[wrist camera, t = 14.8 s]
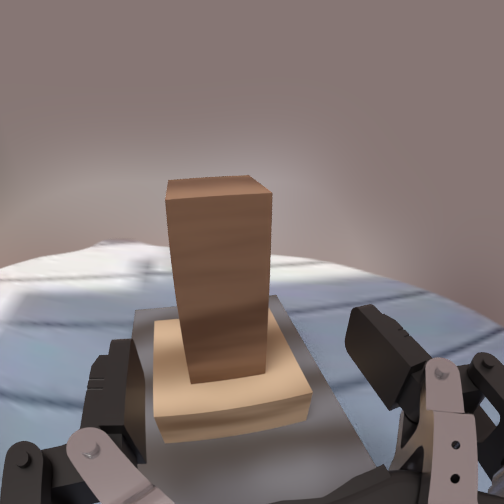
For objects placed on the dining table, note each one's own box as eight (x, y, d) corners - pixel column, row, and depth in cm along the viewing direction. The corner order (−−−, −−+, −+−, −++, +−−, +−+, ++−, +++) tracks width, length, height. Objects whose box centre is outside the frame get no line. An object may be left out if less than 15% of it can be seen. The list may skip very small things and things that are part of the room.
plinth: (381, 484, 14) (404, 459, 12) (129, 534, 10) (104, 519, 9) (275, 299, 35) (277, 268, 33) (136, 314, 31) (129, 283, 30)
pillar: (265, 373, 19) (272, 193, 14) (190, 384, 18) (165, 199, 13) (248, 329, 24) (248, 175, 19) (185, 337, 23) (168, 180, 18)
